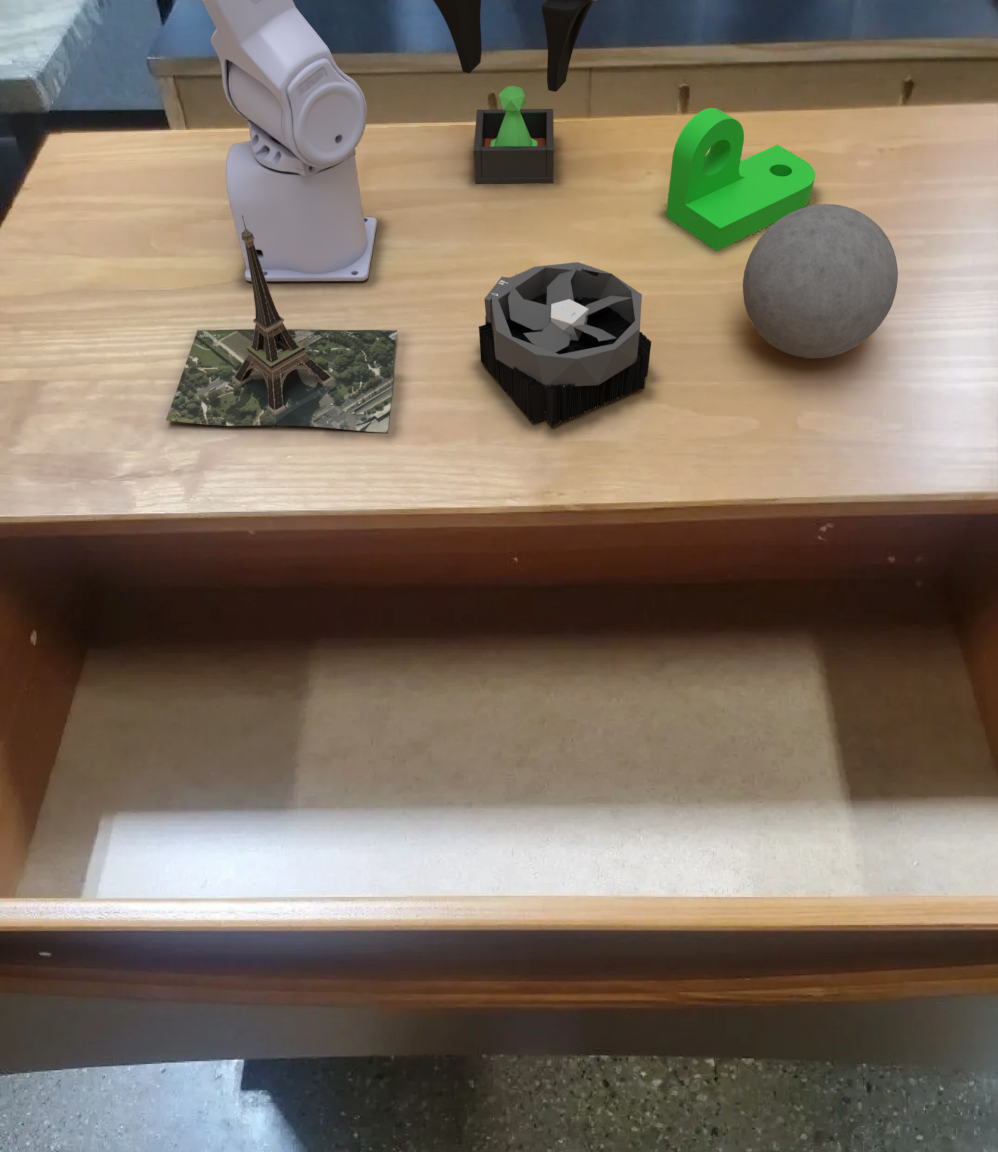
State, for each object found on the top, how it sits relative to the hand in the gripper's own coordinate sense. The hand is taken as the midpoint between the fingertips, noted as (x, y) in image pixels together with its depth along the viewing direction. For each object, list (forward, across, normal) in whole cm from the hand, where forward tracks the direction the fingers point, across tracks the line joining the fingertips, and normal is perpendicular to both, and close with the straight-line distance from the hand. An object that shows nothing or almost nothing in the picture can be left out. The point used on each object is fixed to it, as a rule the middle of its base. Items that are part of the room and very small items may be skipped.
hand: (513, 76), depth 83 cm
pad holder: (+7, 0, 0) cm, 7 cm away
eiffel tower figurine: (+8, +2, +32) cm, 33 cm away
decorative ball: (+8, -29, +13) cm, 33 cm away
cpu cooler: (+8, -15, +23) cm, 29 cm away
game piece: (+7, 0, 0) cm, 7 cm away
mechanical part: (+8, -20, -2) cm, 22 cm away
